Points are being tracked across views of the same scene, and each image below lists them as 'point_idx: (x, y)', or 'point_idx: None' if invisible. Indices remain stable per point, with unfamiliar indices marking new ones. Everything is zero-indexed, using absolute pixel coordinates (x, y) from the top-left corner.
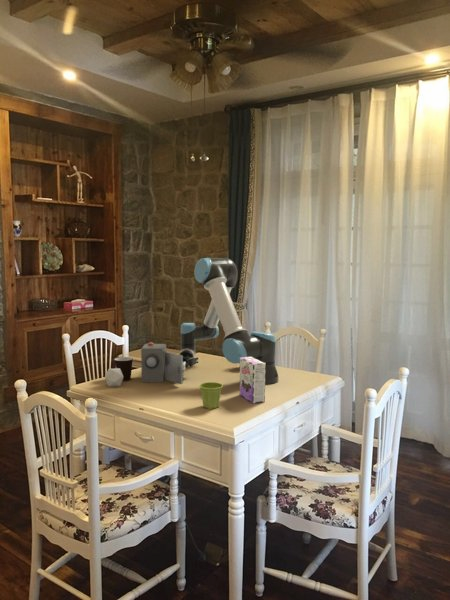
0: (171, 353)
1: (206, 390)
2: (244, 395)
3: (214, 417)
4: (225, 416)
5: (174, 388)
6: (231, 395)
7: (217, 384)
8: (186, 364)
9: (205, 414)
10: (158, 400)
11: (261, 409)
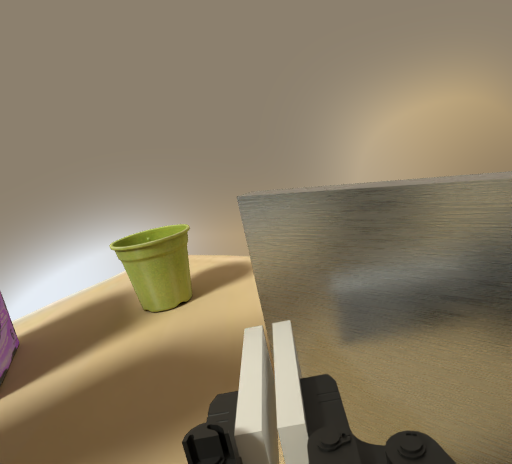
0: (376, 182)
1: (172, 233)
2: (2, 363)
3: None
4: None
5: None
6: (37, 389)
7: (121, 251)
8: (227, 396)
9: (194, 274)
10: None
11: (30, 321)
